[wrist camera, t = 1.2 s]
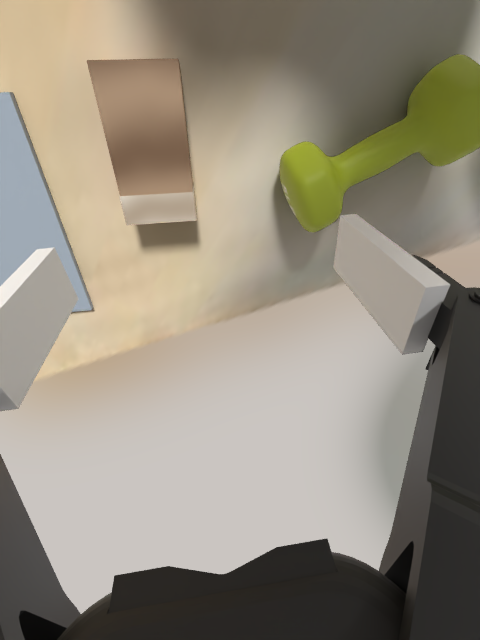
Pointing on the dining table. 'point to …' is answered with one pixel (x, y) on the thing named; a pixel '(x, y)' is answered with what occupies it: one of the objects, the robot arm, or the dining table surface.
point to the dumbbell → (389, 143)
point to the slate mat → (28, 204)
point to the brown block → (146, 137)
